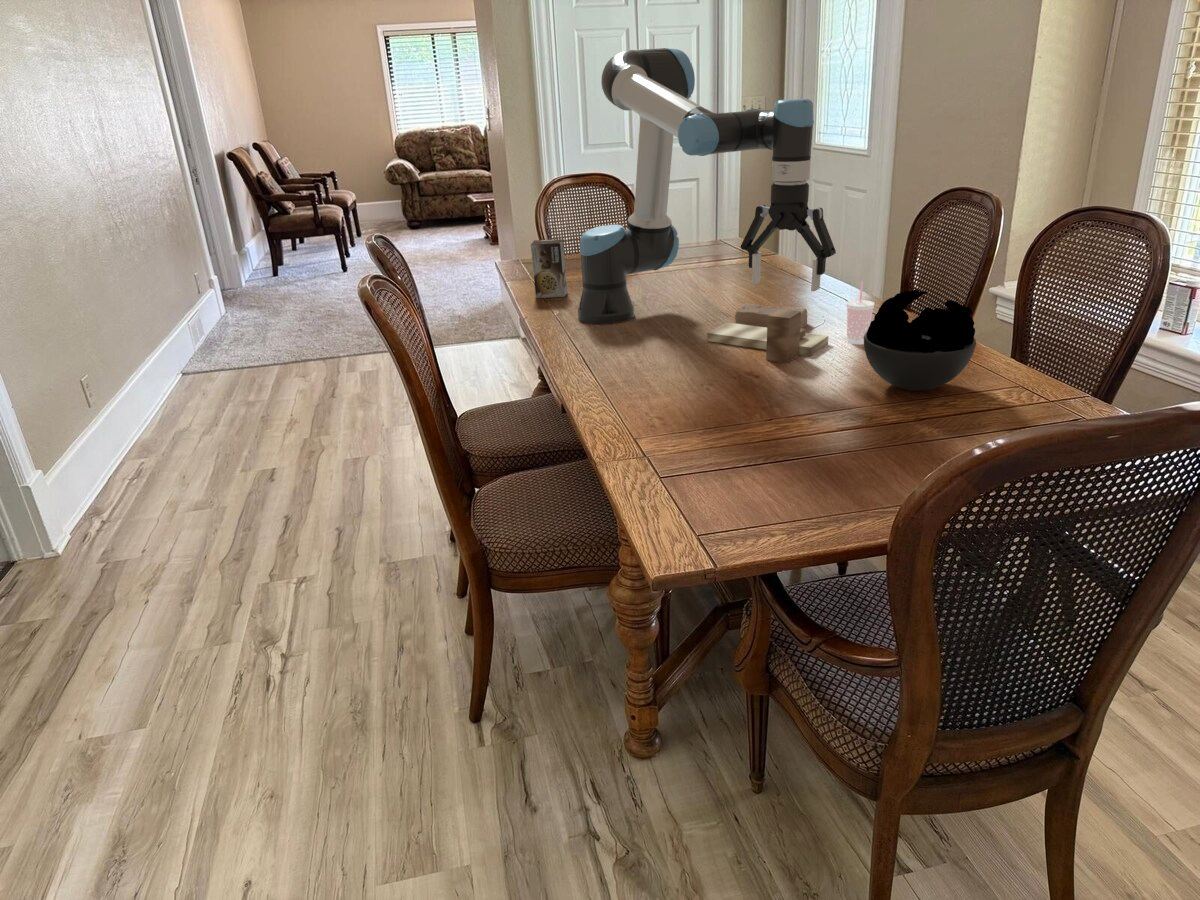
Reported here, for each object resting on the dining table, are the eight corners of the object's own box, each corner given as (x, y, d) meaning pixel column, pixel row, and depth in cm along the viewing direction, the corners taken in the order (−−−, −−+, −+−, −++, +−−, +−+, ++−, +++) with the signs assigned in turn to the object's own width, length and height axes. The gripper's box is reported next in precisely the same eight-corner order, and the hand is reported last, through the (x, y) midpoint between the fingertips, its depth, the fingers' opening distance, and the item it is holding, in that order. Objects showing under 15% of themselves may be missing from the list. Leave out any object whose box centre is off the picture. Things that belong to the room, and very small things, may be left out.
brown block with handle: (766, 359, 176) (767, 315, 172) (790, 344, 186) (792, 301, 181) (787, 363, 173) (789, 318, 169) (811, 347, 183) (813, 303, 179)
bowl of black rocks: (848, 372, 166) (855, 282, 158) (946, 368, 165) (958, 277, 157) (875, 408, 148) (885, 308, 140) (986, 404, 147) (1002, 303, 139)
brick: (807, 324, 201) (808, 305, 199) (800, 333, 194) (801, 314, 192) (743, 320, 207) (743, 302, 205) (734, 329, 201) (734, 310, 199)
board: (707, 340, 191) (707, 332, 190) (727, 330, 198) (727, 322, 198) (810, 356, 177) (810, 347, 176) (827, 344, 184) (828, 335, 183)
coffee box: (567, 292, 244) (564, 238, 238) (564, 297, 239) (561, 242, 232) (538, 293, 245) (533, 239, 239) (534, 298, 240) (530, 243, 233)
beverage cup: (851, 336, 189) (856, 276, 183) (876, 340, 185) (881, 280, 179) (838, 342, 185) (842, 282, 179) (862, 347, 181) (867, 285, 175)
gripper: (726, 182, 166) (724, 284, 175) (843, 186, 152) (834, 296, 161) (743, 178, 171) (740, 277, 180) (857, 181, 157) (848, 288, 166)
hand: (784, 286), depth 171 cm, fingers open, 13 cm apart
